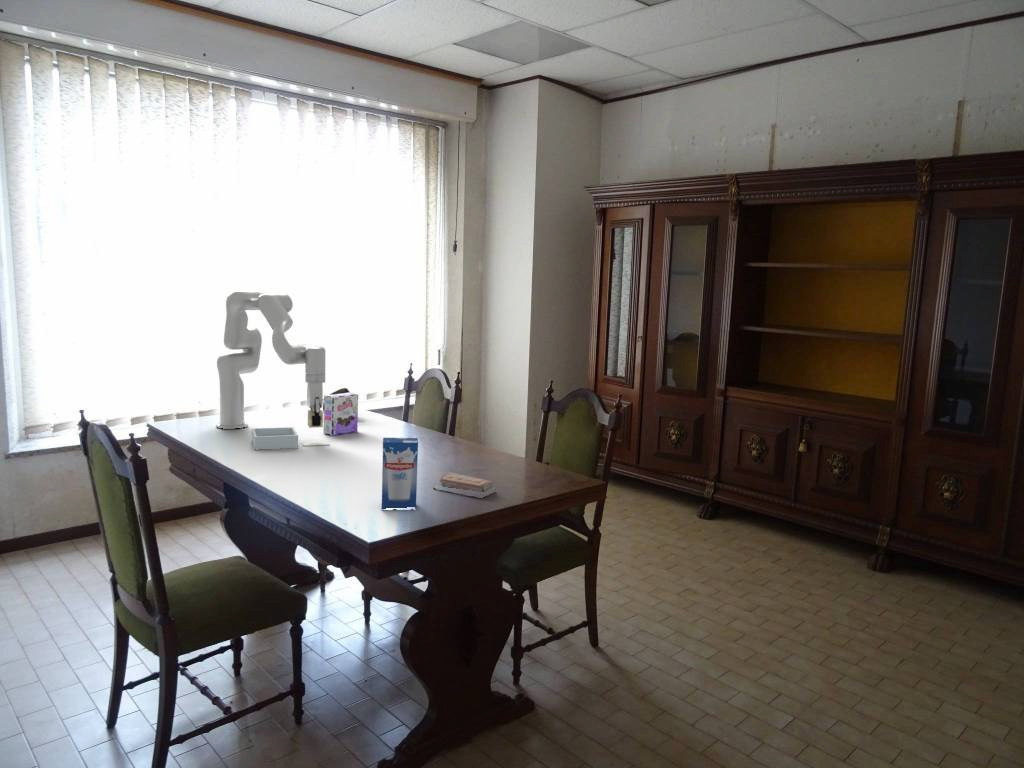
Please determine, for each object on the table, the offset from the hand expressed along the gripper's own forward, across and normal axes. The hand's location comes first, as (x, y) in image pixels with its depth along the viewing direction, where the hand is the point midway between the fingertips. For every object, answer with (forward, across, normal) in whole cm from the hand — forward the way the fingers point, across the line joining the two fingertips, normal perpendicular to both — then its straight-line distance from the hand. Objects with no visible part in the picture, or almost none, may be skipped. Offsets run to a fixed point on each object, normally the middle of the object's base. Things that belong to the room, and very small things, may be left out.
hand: (315, 423), depth 289 cm
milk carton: (+9, +87, +12) cm, 88 cm away
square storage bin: (+8, 0, -15) cm, 17 cm away
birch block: (+1, 0, 0) cm, 1 cm away
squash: (+8, -49, +18) cm, 53 cm away
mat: (+8, 0, 0) cm, 8 cm away
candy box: (+8, -17, +13) cm, 23 cm away
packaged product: (+9, +75, +36) cm, 84 cm away
